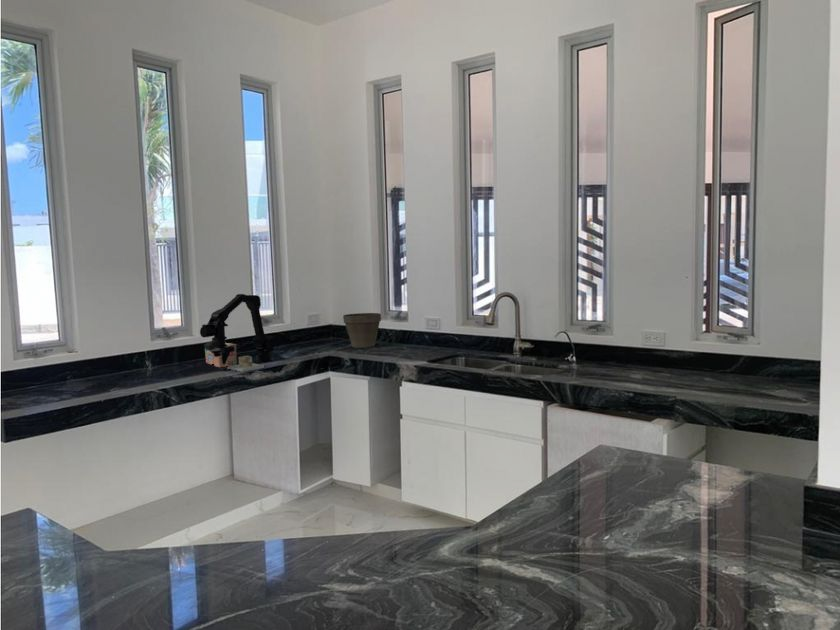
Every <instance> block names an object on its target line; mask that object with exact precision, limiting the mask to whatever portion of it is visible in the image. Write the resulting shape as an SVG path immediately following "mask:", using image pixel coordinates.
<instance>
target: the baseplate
mask: <svg viewBox="0 0 840 630" xmlns="http://www.w3.org/2000/svg"><path fill="white" fill-rule="evenodd" d="M226 368H227V370H229V369H231V370H230V371H235V370H237V371H236V372H242V373H243V372H247V371H254V370H259V369H264V368H265V365H264V364H257V363H253V362H252V366H247V367H242V366H239V364H237V365H234V366H228V367H226Z"/></svg>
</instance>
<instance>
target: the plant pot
mask: <svg viewBox="0 0 840 630" xmlns="http://www.w3.org/2000/svg"><path fill="white" fill-rule="evenodd" d="M381 321H382V314H381V313H380V312H379V313H378V312H362V313H360V312H359V313H349V314H348V313H347V314H343V323H344V324H345V327H346V331H347V334H348V337H349V340H350V344H351V347H352V348H356V349H358V348H359V349H362V348H363V349H364V348H372V347H375V345H376V341H377V337H378V332H379V327H380V322H381Z"/></svg>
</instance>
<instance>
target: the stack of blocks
mask: <svg viewBox="0 0 840 630" xmlns="http://www.w3.org/2000/svg"><path fill="white" fill-rule="evenodd" d="M225 344H227V346H233V347H234V349H235V351H232V352H230V354H229V356H228V358H227V359H228V366H234V365H238V360H237V359H238V358H237V354H238V353H237V344H236V343H232V342H231V343H230V342H228V343H227V342H225ZM204 354H205V364H206V363H207V364H208V365H212V364H214V357H215V356H214V354H213V353H211V352H210V351H209V350H206V349H205V348H204ZM207 364H206V365H207Z"/></svg>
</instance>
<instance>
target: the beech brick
mask: <svg viewBox="0 0 840 630" xmlns="http://www.w3.org/2000/svg"><path fill="white" fill-rule="evenodd" d="M252 363H253V356H250V355H243V356H242V355H241V356H238V365H239V366H242V367H247V366H252Z"/></svg>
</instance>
